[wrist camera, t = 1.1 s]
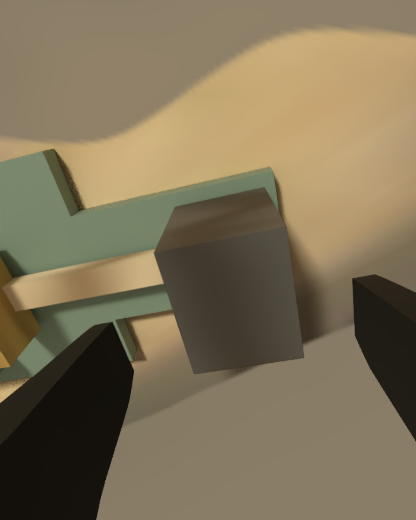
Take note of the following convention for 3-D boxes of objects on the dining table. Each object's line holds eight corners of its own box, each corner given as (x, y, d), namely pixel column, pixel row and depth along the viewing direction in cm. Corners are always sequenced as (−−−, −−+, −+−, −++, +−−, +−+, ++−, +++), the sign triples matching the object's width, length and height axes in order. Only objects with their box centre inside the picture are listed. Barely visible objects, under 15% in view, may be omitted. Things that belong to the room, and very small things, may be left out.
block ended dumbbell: (264, 186, 14) (286, 226, 9) (279, 285, 16) (304, 357, 11) (-26, 250, 16) (-129, 310, 11) (22, 331, 18) (-48, 410, 13)
